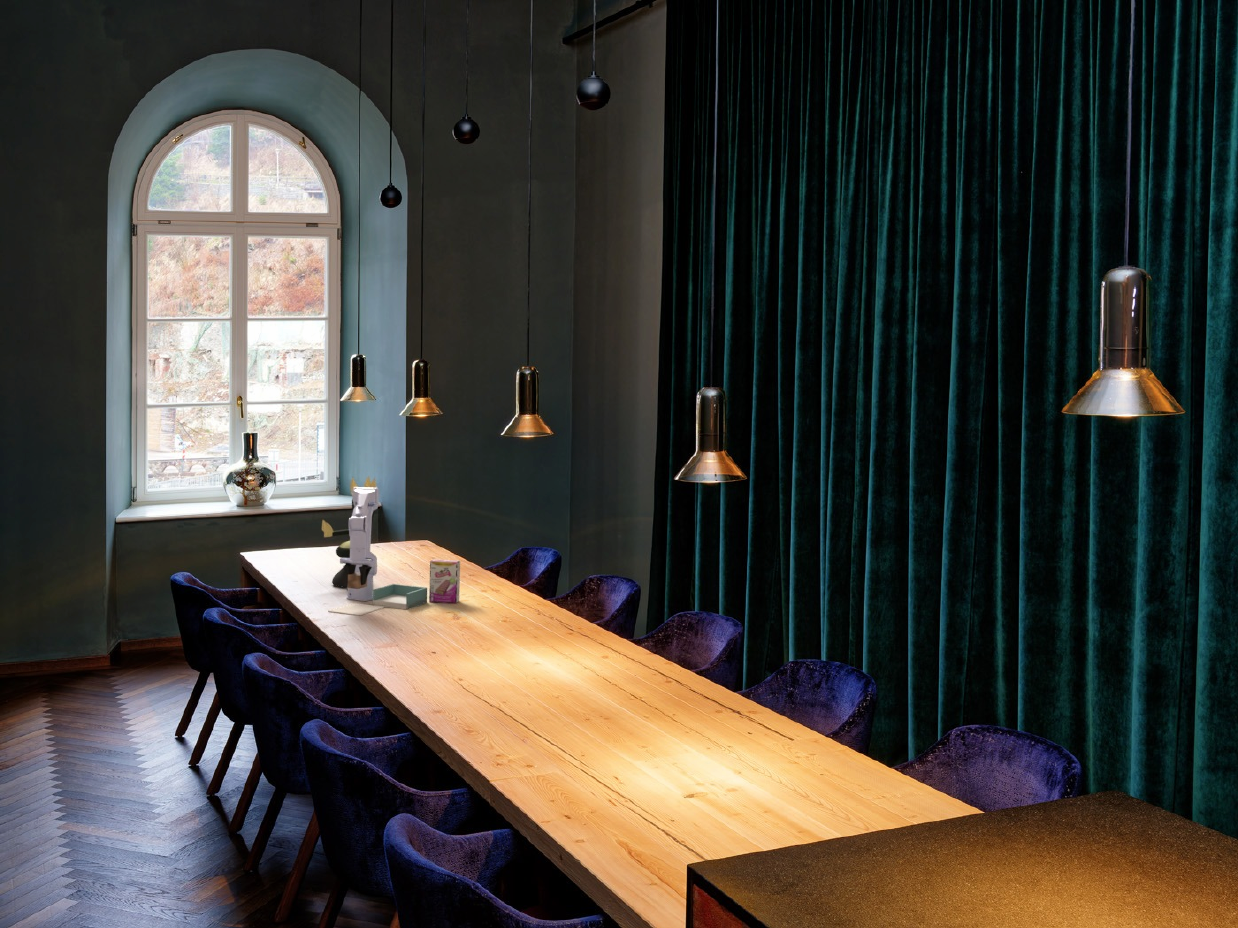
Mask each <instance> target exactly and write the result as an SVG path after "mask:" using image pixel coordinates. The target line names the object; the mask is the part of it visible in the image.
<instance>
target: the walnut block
mask: <svg viewBox="0 0 1238 928" xmlns="http://www.w3.org/2000/svg"><path fill="white" fill-rule="evenodd" d="M364 587H367V580H366V584H365V585H361V576H360V573H359V572H356V573H353V574H349V575H348V588H352V589H360V588H364ZM348 588H347V589H348Z"/></svg>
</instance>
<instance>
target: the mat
mask: <svg viewBox="0 0 1238 928" xmlns="http://www.w3.org/2000/svg"><path fill="white" fill-rule="evenodd" d="M384 608H385V607H384V606H376V605H373V604H366V603H365V604H363V603H357V602H352V603H349V604H346V605H343V606H338V607H337V608H333V609H329V610H328V613H334V614H335V613H336V614H343V615H351V616H356V617H357V616H359V617H361V616H363V615H366V614H370V613H372V612H376V611H379V610H382V609H384Z"/></svg>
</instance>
